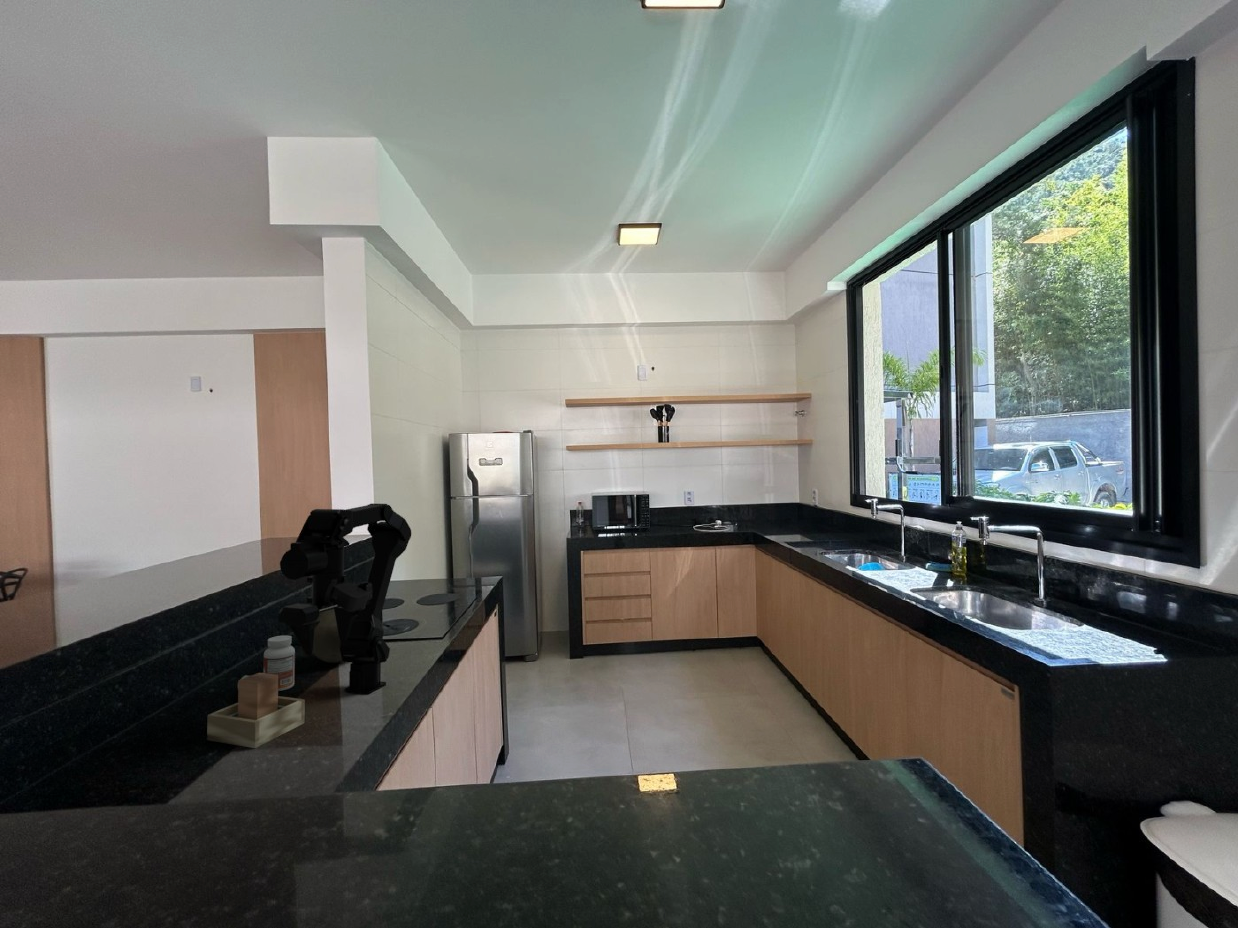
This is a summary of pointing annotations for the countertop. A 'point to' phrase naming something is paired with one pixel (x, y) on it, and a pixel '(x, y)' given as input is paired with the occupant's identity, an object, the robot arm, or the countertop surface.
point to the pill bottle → (280, 661)
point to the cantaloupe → (327, 638)
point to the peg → (257, 696)
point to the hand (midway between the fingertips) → (326, 648)
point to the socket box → (255, 724)
